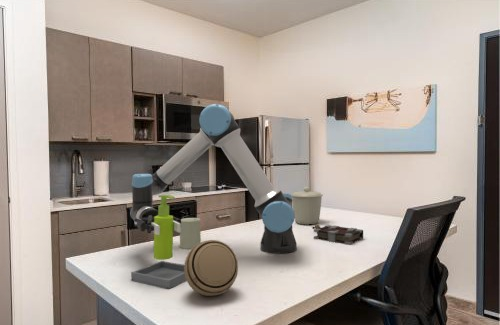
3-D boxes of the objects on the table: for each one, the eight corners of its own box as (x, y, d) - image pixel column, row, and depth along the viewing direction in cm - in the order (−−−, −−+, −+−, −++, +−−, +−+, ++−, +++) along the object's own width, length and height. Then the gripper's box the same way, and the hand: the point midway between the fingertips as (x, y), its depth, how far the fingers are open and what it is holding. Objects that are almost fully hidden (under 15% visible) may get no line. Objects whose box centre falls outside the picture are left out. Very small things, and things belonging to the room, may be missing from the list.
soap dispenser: (165, 261, 107) (166, 196, 106) (149, 257, 110) (150, 195, 110) (178, 256, 112) (179, 195, 111) (163, 253, 115) (164, 193, 115)
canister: (326, 226, 189) (325, 187, 188) (292, 226, 189) (292, 188, 189) (319, 220, 207) (319, 185, 206) (289, 220, 207) (289, 185, 207)
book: (349, 245, 148) (349, 234, 148) (300, 237, 165) (300, 226, 165) (364, 239, 159) (363, 228, 159) (316, 232, 176) (316, 222, 176)
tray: (197, 274, 113) (197, 267, 113) (169, 289, 101) (169, 280, 101) (162, 267, 121) (161, 260, 121) (131, 280, 109) (131, 272, 109)
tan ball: (174, 300, 93) (173, 245, 93) (201, 281, 107) (200, 233, 107) (224, 308, 88) (223, 249, 87) (246, 287, 102) (245, 236, 101)
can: (196, 249, 145) (196, 220, 145) (176, 248, 147) (175, 220, 146) (204, 243, 154) (203, 216, 154) (184, 243, 156) (184, 216, 156)
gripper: (174, 225, 131) (197, 237, 111) (122, 231, 121) (137, 245, 101) (174, 205, 131) (197, 214, 111) (121, 209, 121) (137, 220, 101)
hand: (169, 229), depth 106 cm, fingers closed on soap dispenser, 6 cm apart
